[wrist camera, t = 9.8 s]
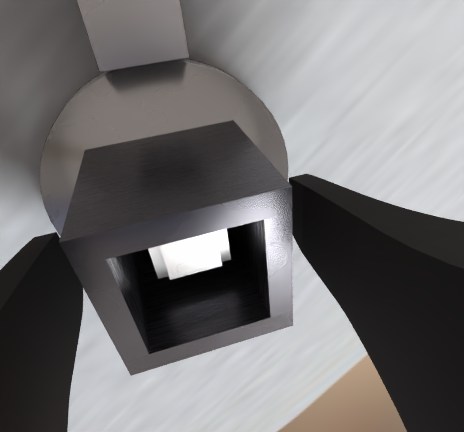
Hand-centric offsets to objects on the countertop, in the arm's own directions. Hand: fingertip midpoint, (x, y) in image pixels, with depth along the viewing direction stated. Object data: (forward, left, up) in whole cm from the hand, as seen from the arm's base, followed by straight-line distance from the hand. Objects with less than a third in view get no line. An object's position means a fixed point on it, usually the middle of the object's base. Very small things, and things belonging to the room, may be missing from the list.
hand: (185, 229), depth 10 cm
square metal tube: (0, 0, -2) cm, 2 cm away
